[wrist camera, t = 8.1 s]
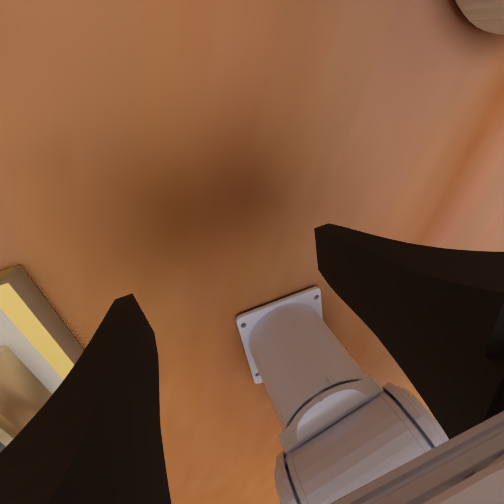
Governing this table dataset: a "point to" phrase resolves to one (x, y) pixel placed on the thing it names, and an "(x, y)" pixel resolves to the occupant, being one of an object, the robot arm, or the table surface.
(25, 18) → the table surface
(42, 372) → the dock
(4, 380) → the tan hollow block
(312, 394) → the robot arm
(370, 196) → the table surface
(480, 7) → the ramekin
